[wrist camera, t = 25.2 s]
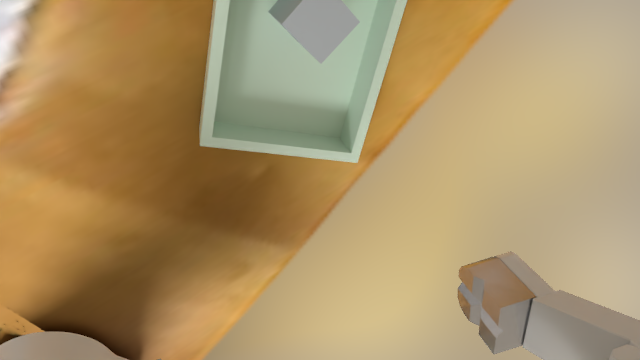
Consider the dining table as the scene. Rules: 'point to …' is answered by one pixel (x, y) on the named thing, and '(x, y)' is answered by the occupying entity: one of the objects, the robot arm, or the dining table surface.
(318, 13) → the grey block
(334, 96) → the serving tray
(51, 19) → the dining table surface
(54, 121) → the dining table surface
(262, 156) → the dining table surface
